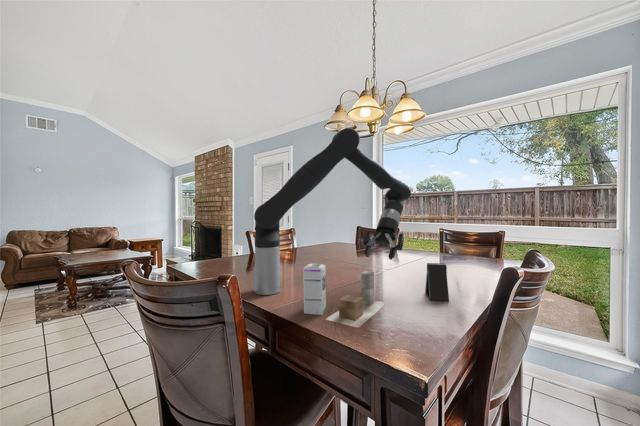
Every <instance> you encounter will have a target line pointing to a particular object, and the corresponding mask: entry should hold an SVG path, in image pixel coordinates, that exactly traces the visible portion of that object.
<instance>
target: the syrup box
mask: <svg viewBox="0 0 640 426" xmlns="http://www.w3.org/2000/svg"><path fill="white" fill-rule="evenodd" d="M302 270H303V273H302V275H303V276H302V277H303V279H302V280H303V285H302V286H303V313H304V314H305V315H306V314H309V315H318V316H322V315H324V313H325V312H326V309H327V288H326V287H327V282H326V281H327V280H326V278H327V276H326V273H327V272H326V264H324V263H308V264H307V265H306V266H304V267H303V269H302Z"/></svg>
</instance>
